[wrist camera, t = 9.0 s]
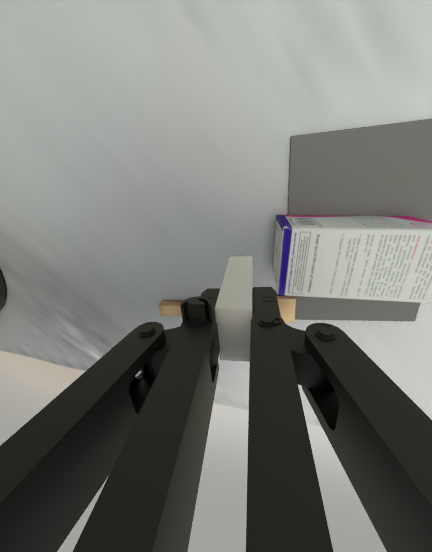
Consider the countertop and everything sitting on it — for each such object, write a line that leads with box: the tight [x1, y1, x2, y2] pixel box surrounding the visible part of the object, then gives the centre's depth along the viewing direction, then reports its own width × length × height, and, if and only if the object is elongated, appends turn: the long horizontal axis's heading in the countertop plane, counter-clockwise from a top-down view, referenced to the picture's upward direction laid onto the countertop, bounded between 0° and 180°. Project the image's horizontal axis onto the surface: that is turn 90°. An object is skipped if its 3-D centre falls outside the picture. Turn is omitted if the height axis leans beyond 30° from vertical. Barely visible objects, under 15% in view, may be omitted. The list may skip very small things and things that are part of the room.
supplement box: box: [273, 215, 432, 303], centre depth 19 cm, size 6×6×12 cm
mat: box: [285, 119, 432, 321], centre depth 21 cm, size 13×18×1 cm
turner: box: [159, 296, 296, 323], centre depth 26 cm, size 16×3×1 cm, turn 95°
